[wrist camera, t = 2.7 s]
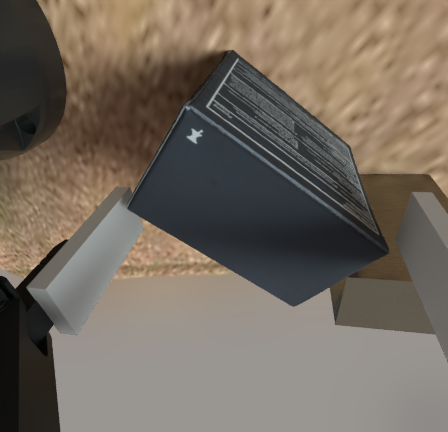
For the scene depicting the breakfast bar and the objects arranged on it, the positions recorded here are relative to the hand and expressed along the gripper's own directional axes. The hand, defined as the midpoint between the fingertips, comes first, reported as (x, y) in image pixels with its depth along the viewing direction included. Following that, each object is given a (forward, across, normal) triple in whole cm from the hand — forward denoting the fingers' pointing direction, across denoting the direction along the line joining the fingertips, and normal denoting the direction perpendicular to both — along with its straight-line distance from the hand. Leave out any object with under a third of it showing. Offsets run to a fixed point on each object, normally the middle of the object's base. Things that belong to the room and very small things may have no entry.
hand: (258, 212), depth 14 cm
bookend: (+9, +8, -5) cm, 12 cm away
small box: (+9, 0, 0) cm, 9 cm away
